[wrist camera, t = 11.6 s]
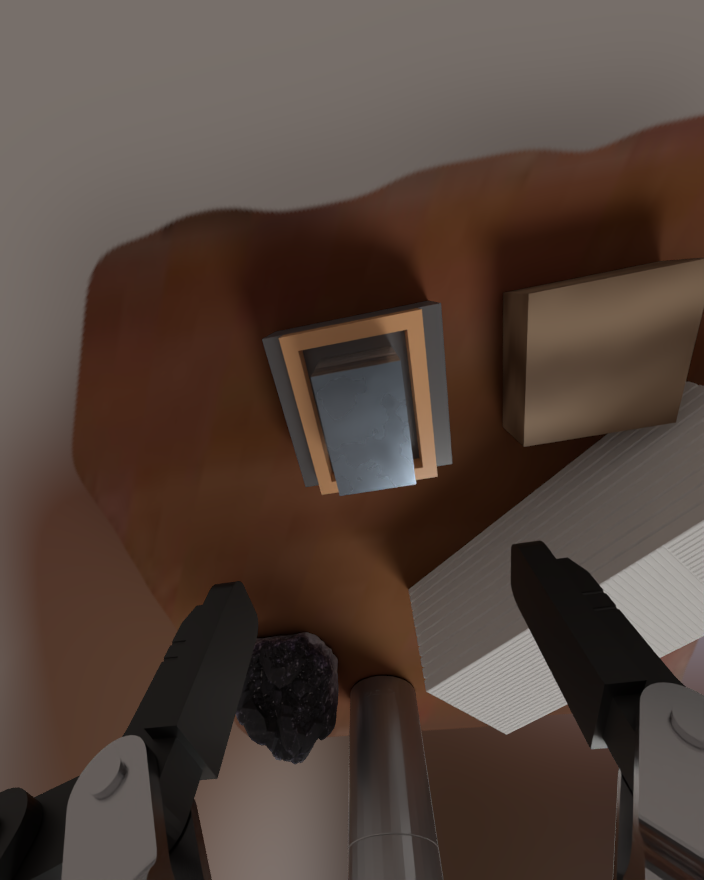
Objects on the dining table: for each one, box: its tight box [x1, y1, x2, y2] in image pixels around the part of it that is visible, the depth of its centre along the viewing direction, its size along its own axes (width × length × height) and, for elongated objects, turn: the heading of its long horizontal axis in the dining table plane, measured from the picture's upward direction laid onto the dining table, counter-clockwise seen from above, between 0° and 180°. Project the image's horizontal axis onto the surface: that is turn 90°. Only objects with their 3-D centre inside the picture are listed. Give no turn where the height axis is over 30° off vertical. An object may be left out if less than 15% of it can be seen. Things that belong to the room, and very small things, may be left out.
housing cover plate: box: [311, 354, 416, 496], centre depth 20 cm, size 5×8×2 cm, turn 11°
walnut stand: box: [503, 258, 704, 447], centre depth 24 cm, size 11×11×4 cm
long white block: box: [409, 382, 704, 734], centre depth 29 cm, size 32×11×11 cm, turn 140°
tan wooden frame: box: [262, 301, 452, 495], centre depth 25 cm, size 12×12×6 cm
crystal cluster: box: [236, 632, 339, 764], centre depth 40 cm, size 14×14×10 cm
